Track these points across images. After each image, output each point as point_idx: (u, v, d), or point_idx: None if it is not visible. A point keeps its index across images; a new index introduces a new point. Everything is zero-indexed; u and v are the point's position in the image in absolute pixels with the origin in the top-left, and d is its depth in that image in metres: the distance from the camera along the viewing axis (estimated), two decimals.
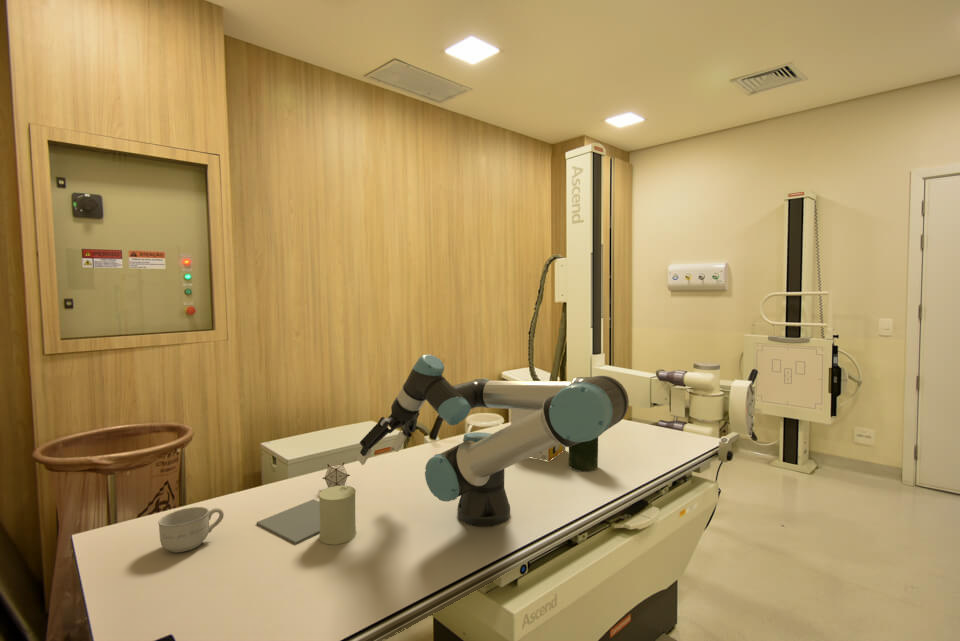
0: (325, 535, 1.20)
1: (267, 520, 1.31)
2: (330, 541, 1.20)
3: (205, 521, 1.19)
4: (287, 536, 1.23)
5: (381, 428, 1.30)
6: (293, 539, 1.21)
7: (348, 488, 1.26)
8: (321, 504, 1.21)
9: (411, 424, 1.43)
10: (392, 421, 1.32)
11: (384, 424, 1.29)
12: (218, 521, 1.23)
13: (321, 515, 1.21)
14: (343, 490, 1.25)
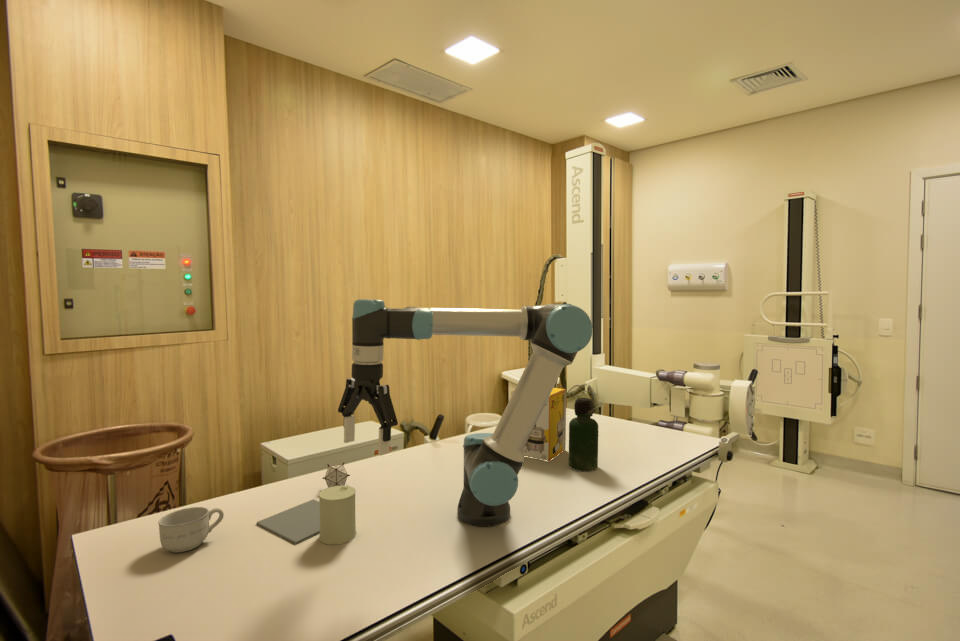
0: (325, 535, 1.20)
1: (267, 520, 1.31)
2: (330, 541, 1.20)
3: (205, 521, 1.19)
4: (287, 536, 1.23)
5: (388, 394, 1.14)
6: (293, 539, 1.21)
7: (348, 488, 1.26)
8: (321, 504, 1.21)
9: (349, 400, 1.23)
10: (380, 385, 1.16)
11: (388, 388, 1.14)
12: (218, 521, 1.23)
13: (321, 515, 1.21)
14: (343, 490, 1.25)
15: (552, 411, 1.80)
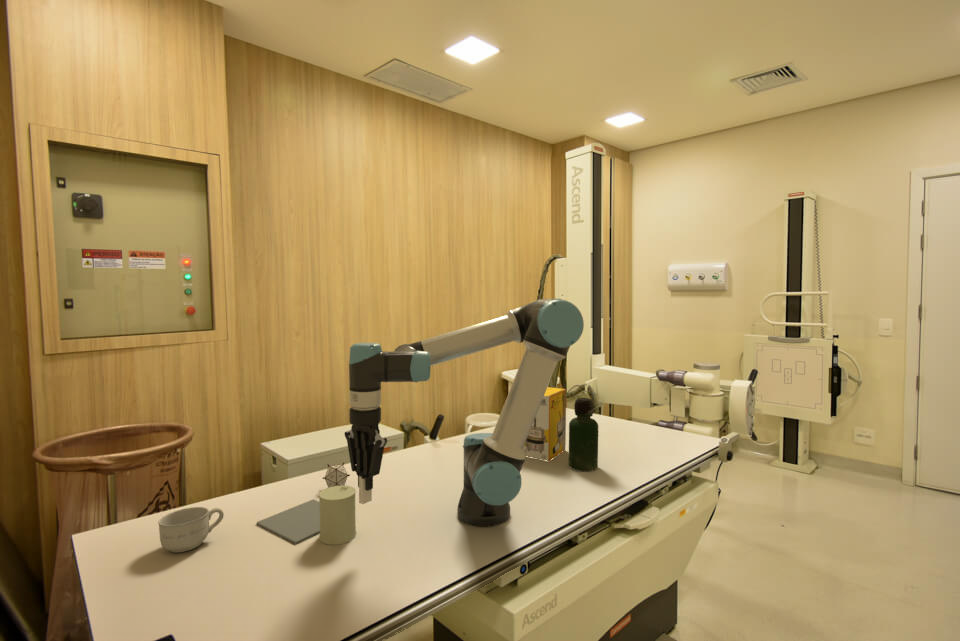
0: (325, 535, 1.20)
1: (267, 520, 1.31)
2: (330, 541, 1.20)
3: (205, 521, 1.19)
4: (287, 536, 1.23)
5: (382, 448, 1.14)
6: (293, 539, 1.21)
7: (348, 488, 1.26)
8: (321, 504, 1.21)
9: None
10: (379, 433, 1.15)
11: (385, 443, 1.14)
12: (218, 521, 1.23)
13: (321, 515, 1.21)
14: (343, 490, 1.25)
15: (552, 411, 1.80)
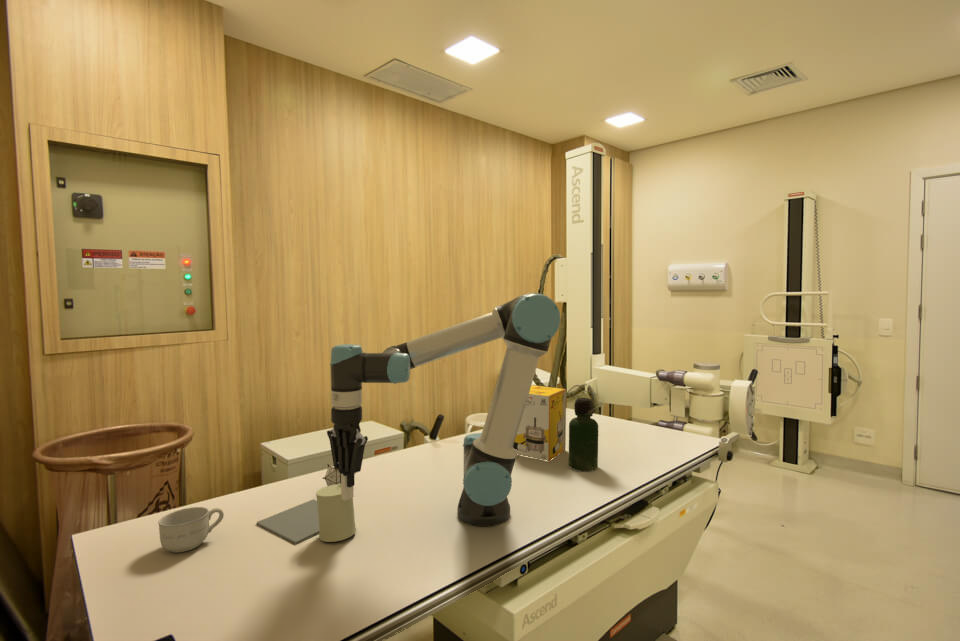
0: (325, 532, 1.20)
1: (267, 520, 1.31)
2: (330, 538, 1.20)
3: (205, 521, 1.19)
4: (287, 536, 1.23)
5: (363, 445, 1.18)
6: (293, 539, 1.21)
7: None
8: (319, 502, 1.21)
9: None
10: (360, 431, 1.19)
11: (366, 441, 1.18)
12: (218, 521, 1.23)
13: (319, 513, 1.21)
14: (340, 487, 1.26)
15: (552, 411, 1.80)
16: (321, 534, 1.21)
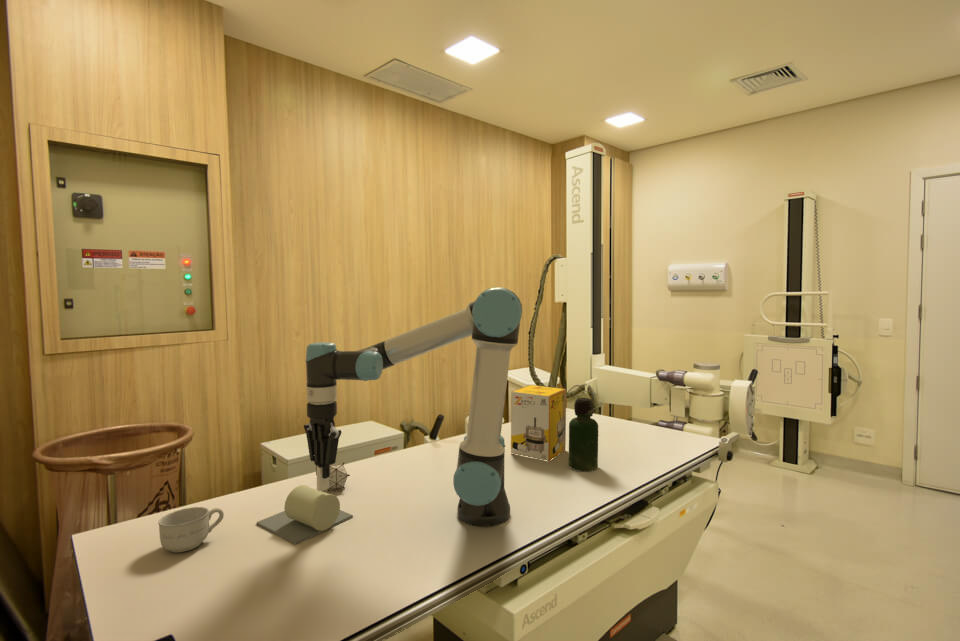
0: (307, 514, 1.24)
1: (267, 520, 1.31)
2: (311, 510, 1.23)
3: (205, 521, 1.19)
4: (287, 536, 1.23)
5: (337, 439, 1.24)
6: (293, 539, 1.21)
7: None
8: (289, 512, 1.28)
9: None
10: (334, 425, 1.25)
11: (339, 434, 1.24)
12: (218, 521, 1.23)
13: (296, 516, 1.26)
14: None
15: (552, 411, 1.80)
16: (309, 521, 1.24)
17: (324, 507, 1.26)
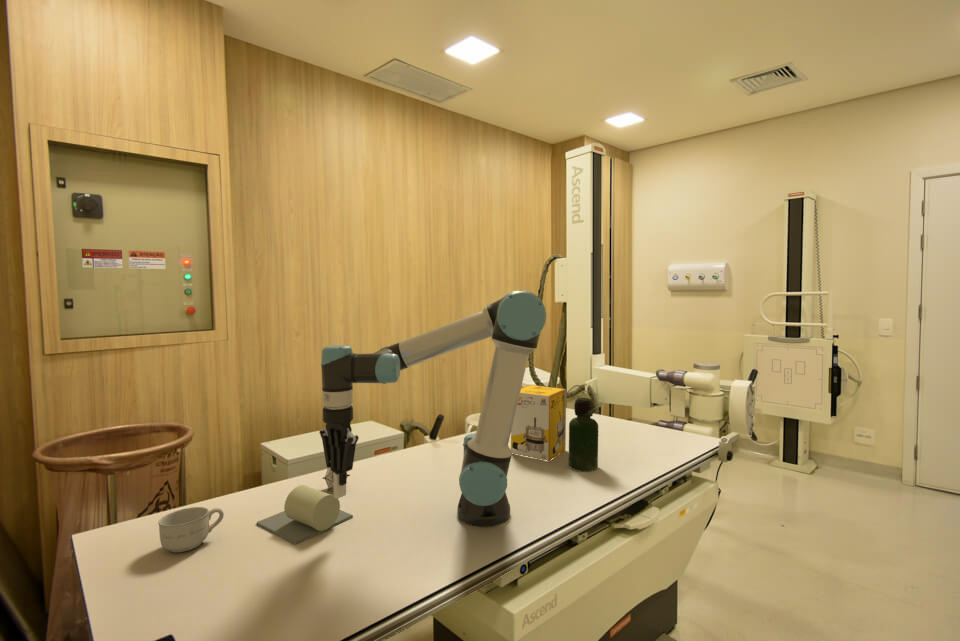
0: (307, 514, 1.24)
1: (267, 520, 1.31)
2: (311, 510, 1.23)
3: (205, 521, 1.19)
4: (287, 536, 1.23)
5: (354, 444, 1.20)
6: (293, 539, 1.21)
7: None
8: (289, 512, 1.28)
9: None
10: (351, 430, 1.21)
11: (356, 440, 1.20)
12: (218, 521, 1.23)
13: (296, 516, 1.26)
14: None
15: (552, 411, 1.80)
16: (309, 521, 1.24)
17: (324, 507, 1.26)
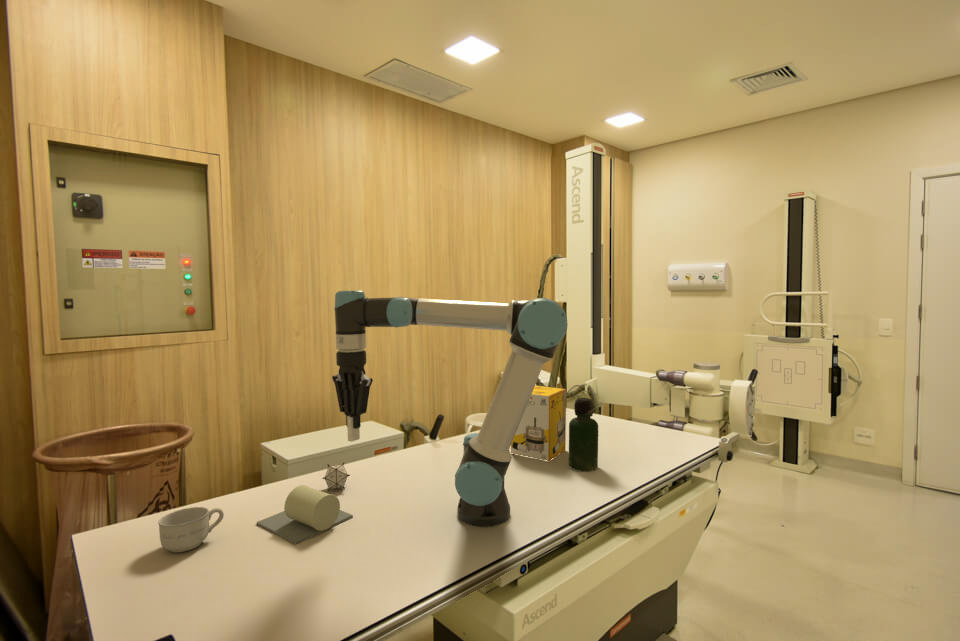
0: (307, 514, 1.24)
1: (267, 520, 1.31)
2: (311, 510, 1.23)
3: (205, 521, 1.19)
4: (287, 536, 1.23)
5: (368, 387, 1.22)
6: (293, 539, 1.21)
7: None
8: (289, 512, 1.28)
9: None
10: None
11: (371, 382, 1.21)
12: (218, 521, 1.23)
13: (296, 516, 1.26)
14: None
15: (552, 411, 1.80)
16: (309, 521, 1.24)
17: (324, 507, 1.26)
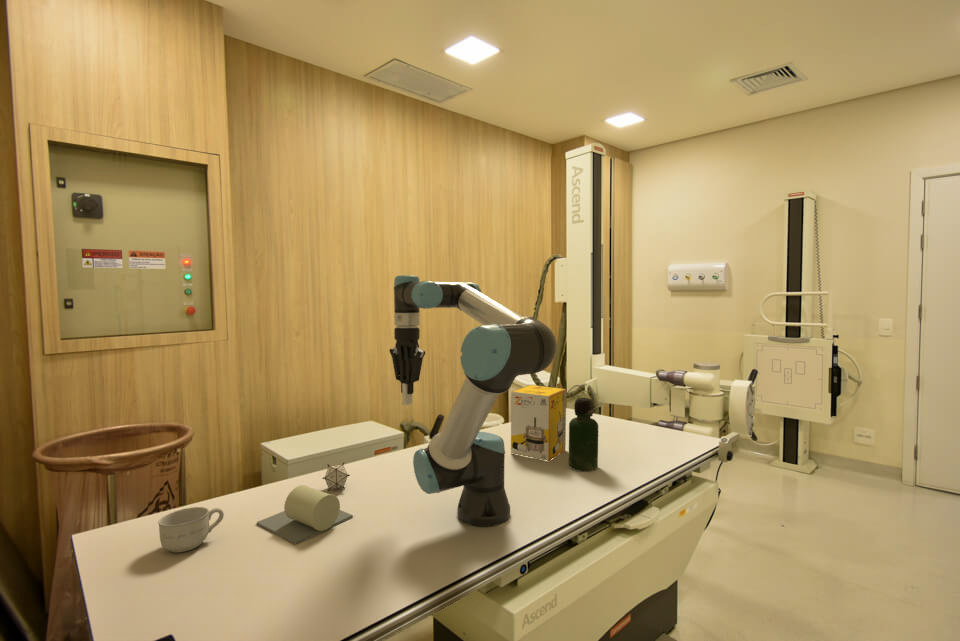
0: (307, 514, 1.24)
1: (267, 520, 1.31)
2: (311, 510, 1.23)
3: (205, 521, 1.19)
4: (287, 536, 1.23)
5: (421, 358, 1.42)
6: (293, 539, 1.21)
7: None
8: (289, 512, 1.28)
9: (400, 366, 1.47)
10: (418, 347, 1.43)
11: (424, 354, 1.42)
12: (218, 521, 1.23)
13: (296, 516, 1.26)
14: None
15: (552, 411, 1.80)
16: (309, 521, 1.24)
17: (324, 508, 1.26)
